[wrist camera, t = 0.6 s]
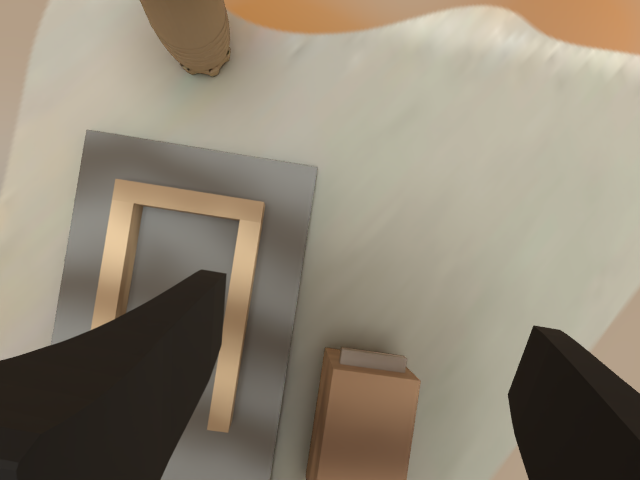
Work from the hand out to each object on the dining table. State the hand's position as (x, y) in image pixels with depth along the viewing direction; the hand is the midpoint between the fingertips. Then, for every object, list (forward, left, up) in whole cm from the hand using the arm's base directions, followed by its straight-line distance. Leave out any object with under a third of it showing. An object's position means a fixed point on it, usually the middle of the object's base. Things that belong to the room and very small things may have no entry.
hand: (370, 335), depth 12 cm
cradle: (-3, +8, -21) cm, 22 cm away
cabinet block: (-8, -3, -21) cm, 23 cm away
